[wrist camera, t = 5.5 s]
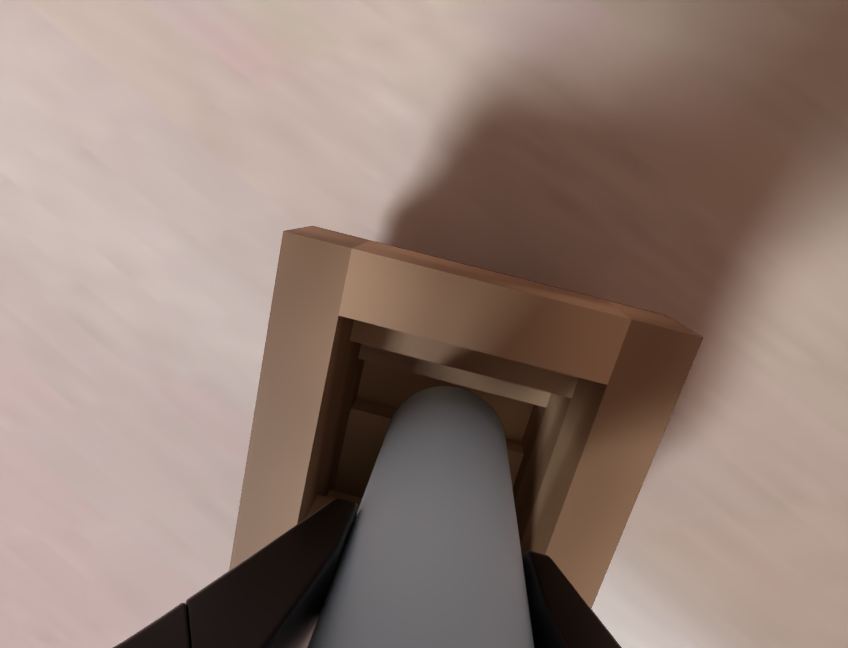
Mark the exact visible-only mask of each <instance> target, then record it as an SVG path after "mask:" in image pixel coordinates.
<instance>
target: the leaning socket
mask: <svg viewBox="0 0 848 648" xmlns="http://www.w3.org/2000/svg"><path fill="white" fill-rule="evenodd" d="M702 339H703V337H701V336H700V335H698V334H696V333H695V332H693V331H691V330H690V329H688V328H686V327H685V326H683V325H681V324H680V323H678V322H676V321H675V320H673V319H671V318H670V317H668V316H666V315H663V314H659V313H655V312H651V311H647V310H643V309H639V308H635V307H631V306H628V305H624V304H620V303H616V302H612V301H608V300H604V299H600V298H596V297H592V296H588V295H584V294H580V293H576V292H572V291H568V290H564V289H560V288H556V287H552V286H548V285H544V284H541V283H537V282H533V281H529V280H525V279H521V278H517V277H513V276H509V275H505V274H501V273H497V272H493V271H489V270H485V269H481V268H477V267H473V266H469V265H465V264H461V263H457V262H454V261H450V260H446V259H442V258H438V257H434V256H430V255H426V254H422V253H418V252H414V251H410V250H406V249H402V248H398V247H394V246H390V245H386V244H382V243H378V242H374V241H370V240H367V239H363V238H359V237H355V236H351V235H347V234H343V233H339V232H335V231H331V230H327V229H323V228H319V227H315V226H310V227H304V228H298V229H292V230H286V231H283V236H282V243H281V249H280V255H279V262H278V268H277V274H276V280H275V287H274V293H273V299H272V305H271V312H270V318H269V324H268V331H267V337H266V343H265V349H264V356H263V362H262V368H261V374H260V381H259V387H258V393H257V400H256V406H255V412H254V418H253V425H252V431H251V437H250V443H249V450H248V456H247V462H246V469H245V475H244V481H243V487H242V494H241V500H240V506H239V512H238V519H237V525H236V531H235V538H234V544H233V550H232V556H231V563H230V569H229V571H230V570H231V569H233V568H234V567H236V566H237V565H239V564H240V563H241V562H243V561H244V560H246V559H247V558H249V557H250V556H252V555H253V554H255V553H256V552H258V551H259V550H260V549H262V548H263V547H265V546H266V545H268V544H269V543H271V542H272V541H274V540H275V539H277V538H278V537H279V536H281V535H282V534H284V533H285V532H287V531H288V530H290V529H291V528H293V527H294V526H296V525H297V524H298V523H300V522H301V521H303V520H304V519H306V518H307V517H309V516H310V515H312V514H313V513H315V512H316V511H318V510H319V509H320V508H322V507H323V506H325V505H326V504H328V503H329V502H331V501H332V500H334V499H336V498H341V499H344V500H348V501H352V502H355V503H357V505H358V509H359V506H360V504H361V501H362V498H363V495H364V493H365V490H366V487H367V485H368V482H369V479H370V476H371V474H372V471H373V468H374V466H375V463H376V460H377V457H378V455H379V452H380V449H381V447H382V444H383V441H384V438H385V436H386V433H387V430H388V428H389V425H390V422H391V420H392V417H393V415H394V413H395V412H396V410H397V409H398V407H399V406H400V405H401V404H402V403H403V402H404V401H405V400H406V399H408V398H409V397H410V396H412V395H413V394H415V393H417V392H419V391H422V390H424V389H428V388H432V387H437V386H451V387H457V388H462V389H465V390H468V391H470V392H472V393H474V394H476V395H478V396H479V397H481V398H483V399H484V400H485V401H486V402H487V403H489V405H490V406H491V407H492V408H493V409H494V410H495V412H496V413H497V414H498V416H499V418H500V420H501V422H502V425H503V428H504V432H505V438H506V445H507V452H508V459H509V467H510V474H511V481H512V489H513V496H514V503H515V510H516V518H517V525H518V532H519V539H520V547H521V554H522V557H523V555H524V553H525V552H526V551H528V550H529V551H534V552H537V553H541V554H545V555H548V556H549V557H550V558H551V559H552V560H553V561H554V562H555V564H556V565H557V566H558V567H559V569H560V570H561V571H562V573H563V574H564V575H565V576H566V578H567V579H568V580H569V581H570V583H571V584H572V585H573V587H574V588H575V589H576V590H577V592H578V593H579V594H580V595H581V597H582V598H583V599H584V601H585V602H586V603H587V604H588V606H589V607H590V608H592V606H593V603H594V601H595V598H596V596H597V593H598V591H599V589H600V586H601V584H602V581H603V579H604V576H605V574H606V572H607V569H608V567H609V564H610V562H611V559H612V557H613V555H614V552H615V550H616V547H617V545H618V543H619V540H620V538H621V535H622V533H623V530H624V528H625V526H626V523H627V521H628V518H629V516H630V513H631V511H632V509H633V506H634V504H635V501H636V499H637V496H638V494H639V492H640V489H641V487H642V484H643V482H644V479H645V477H646V475H647V472H648V470H649V467H650V465H651V462H652V460H653V458H654V455H655V453H656V450H657V448H658V445H659V443H660V441H661V438H662V436H663V433H664V431H665V428H666V426H667V424H668V421H669V419H670V416H671V414H672V412H673V409H674V407H675V404H676V402H677V399H678V397H679V395H680V392H681V390H682V387H683V385H684V382H685V380H686V378H687V375H688V373H689V370H690V368H691V365H692V363H693V361H694V358H695V356H696V353H697V351H698V348H699V346H700V344H701V341H702ZM357 512H358V511H357Z"/></svg>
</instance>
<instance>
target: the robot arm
mask: <svg viewBox="0 0 848 648" xmlns="http://www.w3.org/2000/svg"><path fill="white" fill-rule="evenodd" d="M357 511H358V505H357V503H355V502H352V501H348V500H344V499H341V498H336V499H334V500H332V501H331V502H329V503H328V504H326V505H325V506H323V507H322V508H320V509H319V510H318V511H316V512H315V513H313V514H312V515H310V516H309V517H307V518H306V519H304V520H303V521H301V522H300V523H298V524H297V525H296V526H294V527H293V528H291V529H290V530H288V531H287V532H285V533H284V534H282V535H281V536H279V537H278V538H277V539H275V540H274V541H272V542H271V543H269V544H268V545H266V546H265V547H263V548H262V549H260V550H259V551H258V552H256V553H255V554H253V555H252V556H250V557H249V558H247V559H246V560H244V561H243V562H241V563H240V564H239V565H237V566H236V567H234V568H233V569H231V570H230V571H228V572H227V573H225V574H224V575H222V576H221V577H220V578H218V579H217V580H215V581H214V582H212V583H211V584H209V585H208V586H206V587H205V588H203V589H202V590H201V591H199V592H198V593H196V594H195V595H193V596H192V597H190V598H189V599H187V601H186V604H185V603H181V604H180V605H178V606H177V607H175V608H174V609H172V610H171V611H169V612H168V613H166V614H165V615H164V616H162V617H161V618H159V619H158V620H156V621H154V622H153V623H151V624H150V625H148V626H147V627H145V628H144V629H142V630H141V631H139V632H137V633H136V634H134V635H133V636H131V637H130V638H128V639H127V640H125V641H124V642H122V643H120V644H118V645H117V646H115V647H113V648H307V647H308V645H309V642H310V639H311V637H312V634H313V631H314V628H315V626H316V623H317V620H318V618H319V615H320V612H321V609H322V607H323V604H324V601H325V599H326V596H327V593H328V590H329V588H330V585H331V583H332V581H333V578H334V575H335V573H336V570H337V568H338V565H339V562H340V559H341V557H342V554H343V551H344V549H345V546H346V543H347V540H348V538H349V535H350V532H351V529H352V527H353V524H354V521H355V519H356V515H357ZM522 561H523V568H524V576H525V583H526V590H527V597H528V605H529V612H530V619H531V626H532V634H533V641H534V648H621V646H620V645H619V644H618V643H617V641H616V640H615V639H614V638H613V636H612V635H611V634H610V632H609V631H608V630H607V629H606V627H605V626H604V625H603V623H602V622H601V621H600V620H599V618H598V617H597V616H596V615H595V613H594V612H593V611H592V609H591V608H590V607H589V606H588V604H587V603H586V602H585V601H584V599H583V598H582V597H581V595H580V594H579V593H578V592H577V590H576V589H575V588H574V587H573V585H572V584H571V583H570V581H569V580H568V579H567V578H566V576H565V575H564V574H563V573H562V571H561V570H560V569H559V567H558V566H557V565H556V564H555V562H554V561H553V560H552V559H551V558H550V557H549V556H548V555H545V554H541V553H537V552H534V551H529V550H528V551H526V552H525V553H524V555H523V557H522Z"/></svg>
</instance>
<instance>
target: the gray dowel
mask: <svg viewBox="0 0 848 648" xmlns="http://www.w3.org/2000/svg"><path fill="white" fill-rule="evenodd" d="M307 648H534V641H533V634H532V626H531V619H530V612H529V605H528V597H527V590H526V583H525V576H524V568H523V561H522V554H521V547H520V539H519V532H518V525H517V518H516V510H515V503H514V496H513V489H512V481H511V474H510V467H509V459H508V452H507V445H506V438H505V432H504V428H503V425H502V422H501V420H500V418H499V416H498V414H497V413H496V412H495V410H494V409H493V408H492V407H491V406H490V405H489V403H487V402H486V401H485V400H484V399H483V398H481V397H479V396H478V395H476V394H474V393H472V392H470V391H468V390H465V389H462V388H457V387H451V386H437V387H432V388H428V389H424V390H422V391H419V392H417V393H415V394H413V395H412V396H410V397H409V398H408V399H406V400H405V401H404V402H403V403H402V404H401V405H400V406H399V407H398V409H397V410H396V412H395V413H394V415H393V417H392V420H391V422H390V425H389V428H388V430H387V433H386V436H385V438H384V441H383V444H382V447H381V449H380V452H379V455H378V457H377V460H376V463H375V466H374V468H373V471H372V474H371V476H370V479H369V482H368V485H367V487H366V490H365V493H364V495H363V498H362V501H361V504H360V506H359V509H358V512H357V515H356V519H355V521H354V524H353V527H352V529H351V532H350V535H349V538H348V540H347V543H346V546H345V549H344V551H343V554H342V557H341V559H340V562H339V565H338V568H337V570H336V573H335V575H334V578H333V581H332V583H331V585H330V588H329V590H328V593H327V596H326V599H325V601H324V604H323V607H322V609H321V612H320V615H319V618H318V620H317V623H316V626H315V628H314V631H313V634H312V637H311V639H310V642H309V645H308V647H307Z"/></svg>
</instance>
